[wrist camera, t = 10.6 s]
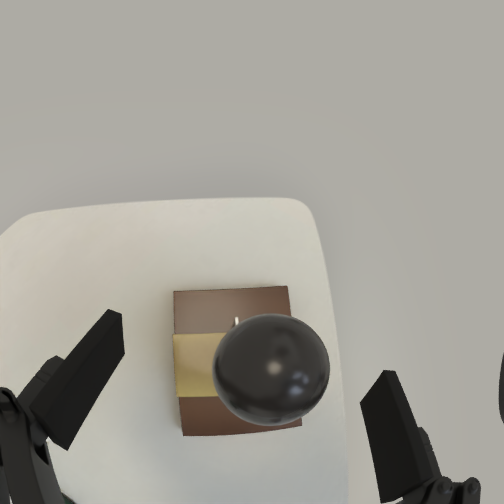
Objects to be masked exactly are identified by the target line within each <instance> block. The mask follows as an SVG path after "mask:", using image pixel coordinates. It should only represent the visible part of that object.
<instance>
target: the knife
mask: <svg viewBox="0 0 504 504" xmlns="http://www.w3.org/2000/svg"><path fill="white" fill-rule="evenodd" d="M329 374H330V363H329V357H328V353H327V350H326V348H325V346H324V344H323V342H322V340H321V339H320V337H319V336H318V335H317V334H316V332H315V331H314V330H313V329H312V328H311V327H309V326H308V325H307V324H305V323H304V322H302V321H300V320H298V319H296V318H294V317H291V316H287V315H283V314H275V313H269V314H260V315H256V316H252V317H250V318H247V319H245V320H243V321H241V322H240V323H239V322H238V317H235V319H234V322H233V325H232V328H231V329H230V330H229V331H228V332H227V333H226V334H225V336H224V337H223V338H222V339H221V341H220V343H219V345H218V346H217V349H216V351H215V354H214V357H213V362H212V378H213V383H214V387H215V390H216V392H217V394H218V396H219V398H220V400H221V401H222V403H223V404H224V405H225V406H226V407H227V409H228V410H230V411H231V412H232V413H233V414H234V415H236V416H237V417H239V418H241V419H243V420H245V421H247V422H250V423H253V424H257V425H263V426H277V425H283V424H287V423H290V422H293V421H295V420H297V419H299V418H301V417H303V416H304V415H306V414H307V413H308V412H309V411H311V410H312V409H313V408H314V407H315V406H316V405H317V403H318V402H319V401H320V399H321V398H322V396H323V394H324V392H325V390H326V387H327V385H328V380H329Z"/></svg>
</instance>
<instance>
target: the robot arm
mask: <svg viewBox="0 0 504 504" xmlns="http://www.w3.org/2000/svg"><path fill="white" fill-rule="evenodd" d="M124 354H125V351H124V340H123V327H122V314H121V313H118V312H115V311H113V310H110V309H108V310H107V311H106V312H105V313H104V314H103V315H102V317H101V318H100V319H99V320H98V321H97V322H96V323H95V324H94V326H93V327H92V328H91V329H90V330H89V331H88V332H87V334H86V335H85V336H84V337H83V338H82V339H81V341H80V342H79V343H78V344H77V345H76V347H75V348H74V349H73V350H72V351H71V353H70V354H69V355H68V356H67V358H66V359H65V360H64V359H62V358H60V357H58V356H57V355H56V356H54V357H53V358H51V359H49V360H47V361H46V362H45V364H44V365H43V366H42V367H41V368H40V370H39V371H38V372H37V373H36V374H35V376H34V377H33V378H32V379H31V381H30V382H29V383H28V384H27V386H26V387H25V388H24V389H23V391H22V392H21V393H20V395H19V396H18V397H17V398H16V397H15V395H14V394H13V393H12V391H11V390H9V389H7V388H4V387H0V504H10V496H11V500H12V503H13V504H65V501H64V499H63V496H62V493H61V491H60V488H59V485H58V482H57V479H56V476H55V472H54V469H53V465H52V462H51V458H50V454H49V450H48V446H47V443H46V439H47V438H48V436H49V438H50V439H51V440H52V441H53V442H54V443H55V444H57V445H59V446H60V447H62V448H63V449H65V450H67V451H68V449H69V447H70V445H71V443H72V442H73V440H74V438H75V436H76V434H77V433H78V431H79V429H80V427H81V425H82V424H83V422H84V420H85V418H86V417H87V415H88V413H89V412H90V410H91V408H92V406H93V405H94V403H95V401H96V400H97V398H98V396H99V395H100V393H101V391H102V390H103V388H104V386H105V385H106V383H107V382H108V380H109V378H110V377H111V375H112V373H113V372H114V370H115V369H116V367H117V365H118V364H119V362H120V361H121V359H122V358H123V356H124ZM360 405H361V410H362V414H363V418H364V422H365V426H366V430H367V435H368V439H369V444H370V448H371V453H372V458H373V463H374V468H375V473H376V478H377V484H378V489H379V496H380V502H381V503H386V502H391V501H394V500H396V499H398V498H400V497H403V500H402V501H400V502H398V503H396V504H480V491H481V486H480V483H479V481H478V480H477V479H476V478H474V477H470V478H469V479H467V480H466V481H464V482H463V483H460V482H459V483H458V482H452V481H451V479H449V478H448V477H445V476H443V477H442V475H441V473H440V469H439V467H438V463H437V460H436V457H435V455H434V452H433V451H432V450H433V448H432V445H430V440H429V437H428V434H427V433H426V432H425V431H424V429H423V428H422V427H417V424H416V421H415V419H414V416H413V413H412V411H411V408H410V406H409V403H408V401H407V398H406V396H405V393H404V391H403V388H402V386H401V384H400V382H399V379H398V376H397V374H396V372H395V371H390V370H383V372H382V373H381V375H380V376H379V378H378V379H377V381H376V382H375V383H374V385H373V386H372V387H371V389H370V390H369V391H368V393H367V394H366V395H365V397H364V398H363V399H362V401H361V402H360ZM9 493H10V495H9Z"/></svg>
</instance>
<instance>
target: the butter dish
mask: <svg viewBox="0 0 504 504" xmlns="http://www.w3.org/2000/svg"><path fill="white" fill-rule="evenodd" d="M269 313H275V314H283V315H287V316H291V311H290V303H289V295H288V287H287V286H275V287H259V288H241V289H221V290H196V291H174V332H175V334H173V355H174V371H175V384H176V395H177V397H179V404H180V413H181V422H182V430H183V436H217V435H234V434H246V433H256V432H265V431H272V430H279V429H286V428H292V427H297V426H302V418H299V419H297V420H295V421H293V422H290V423H287V424H283V425H277V426H263V425H257V424H253V423H250V422H247V421H245V420H243V419H241V418H239V417H237V416H236V415H234V414H233V413H232V412H231V411H230V410H228V409H227V407H226V406H225V405H224V404H223V403H222V401H221V400H220V398H219V396H218V394H217V392H216V390H215V387H214V383H213V378H212V362H213V357H214V354H215V351H216V349H217V346H218V345H219V343H220V341H221V339H222V338H223V337H224V336H225V334H226V333H227V332H228V331H229V330H230V329H231V328H232V325H233V322H234V319H235V317H238V322H239V323H240V322H241V321H243V320H245V319H247V318H250V317H252V316H256V315H260V314H269Z"/></svg>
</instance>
